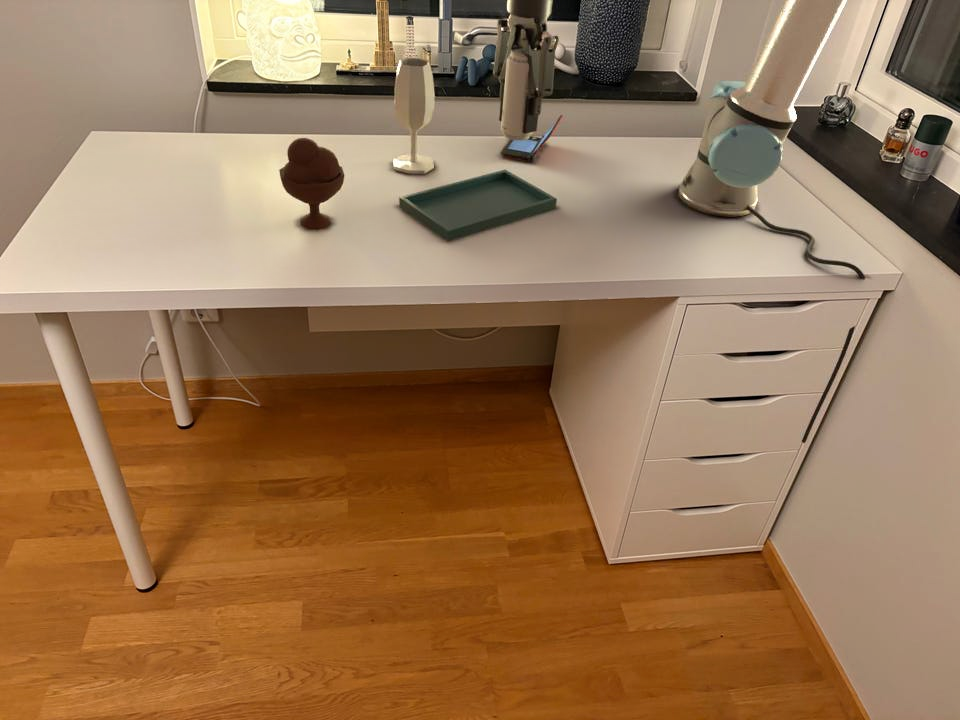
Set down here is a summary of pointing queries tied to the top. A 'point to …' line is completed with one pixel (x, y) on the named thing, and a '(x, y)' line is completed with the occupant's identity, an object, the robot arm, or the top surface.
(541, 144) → the handheld console
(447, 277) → the top surface
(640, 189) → the top surface
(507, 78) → the energy drink can
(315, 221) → the ice cream bowl
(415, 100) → the wineglass
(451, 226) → the tray
